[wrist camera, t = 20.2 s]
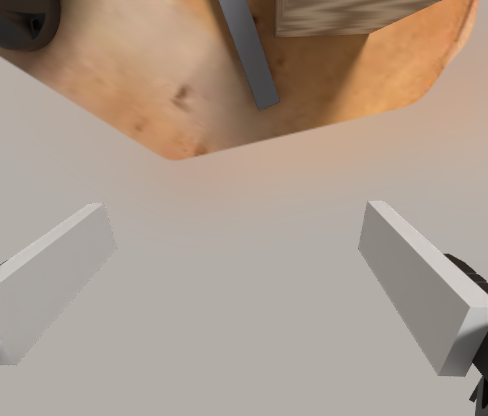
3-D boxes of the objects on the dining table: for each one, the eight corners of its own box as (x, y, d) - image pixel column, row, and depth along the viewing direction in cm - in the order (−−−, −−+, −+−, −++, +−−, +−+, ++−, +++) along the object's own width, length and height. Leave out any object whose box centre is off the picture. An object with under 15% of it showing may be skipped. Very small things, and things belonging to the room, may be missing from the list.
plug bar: (258, 109, 44) (258, 110, 40) (194, -69, 34) (188, -85, 31) (278, 100, 43) (280, 101, 40) (217, -83, 34) (213, -101, 31)
